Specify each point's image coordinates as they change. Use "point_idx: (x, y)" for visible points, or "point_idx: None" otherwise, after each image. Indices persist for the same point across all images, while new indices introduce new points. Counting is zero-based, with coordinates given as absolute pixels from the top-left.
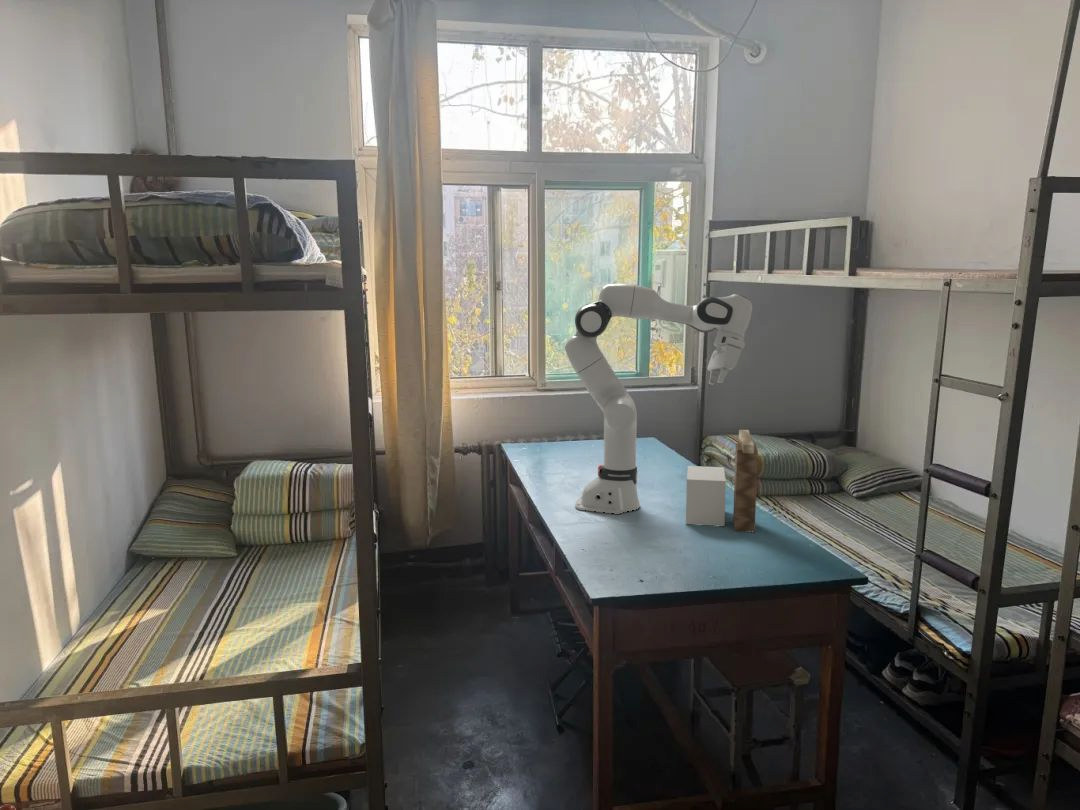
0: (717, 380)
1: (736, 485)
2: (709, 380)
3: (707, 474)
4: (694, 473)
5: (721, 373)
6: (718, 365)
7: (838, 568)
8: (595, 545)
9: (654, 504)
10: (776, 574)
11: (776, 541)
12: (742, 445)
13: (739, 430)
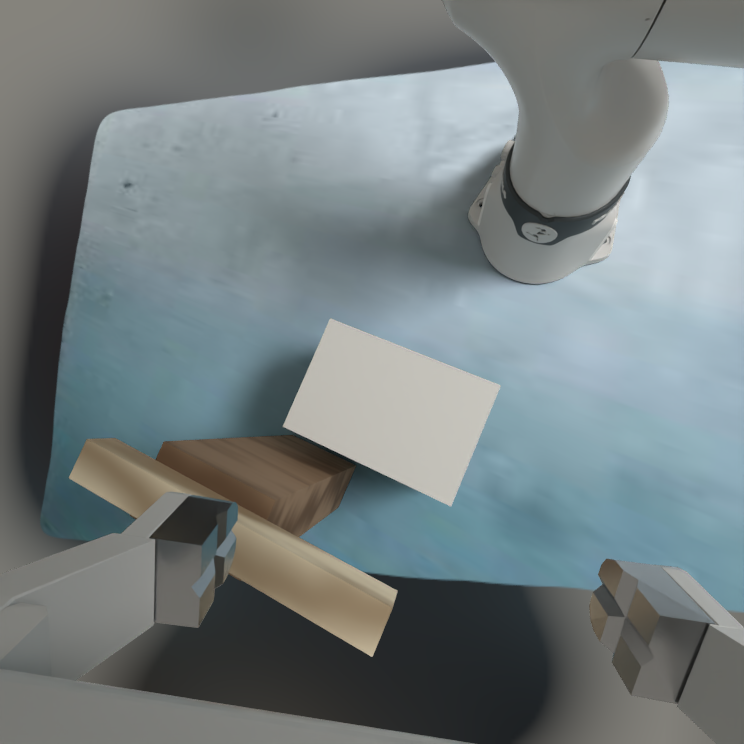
0: (204, 499)
1: (238, 438)
2: (691, 591)
3: (369, 404)
4: (392, 368)
5: (37, 575)
6: (50, 731)
7: (73, 523)
8: (287, 139)
9: (537, 325)
10: (85, 401)
11: None
12: (144, 463)
13: (372, 597)
